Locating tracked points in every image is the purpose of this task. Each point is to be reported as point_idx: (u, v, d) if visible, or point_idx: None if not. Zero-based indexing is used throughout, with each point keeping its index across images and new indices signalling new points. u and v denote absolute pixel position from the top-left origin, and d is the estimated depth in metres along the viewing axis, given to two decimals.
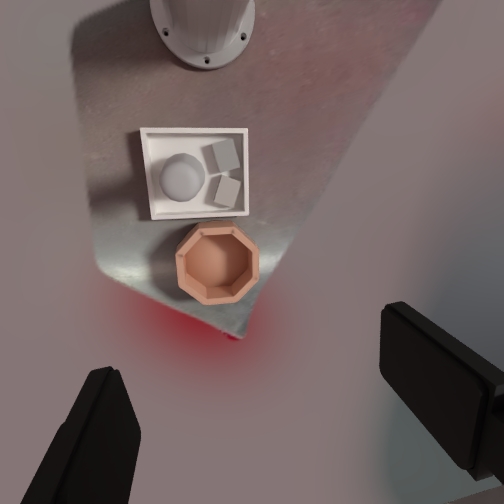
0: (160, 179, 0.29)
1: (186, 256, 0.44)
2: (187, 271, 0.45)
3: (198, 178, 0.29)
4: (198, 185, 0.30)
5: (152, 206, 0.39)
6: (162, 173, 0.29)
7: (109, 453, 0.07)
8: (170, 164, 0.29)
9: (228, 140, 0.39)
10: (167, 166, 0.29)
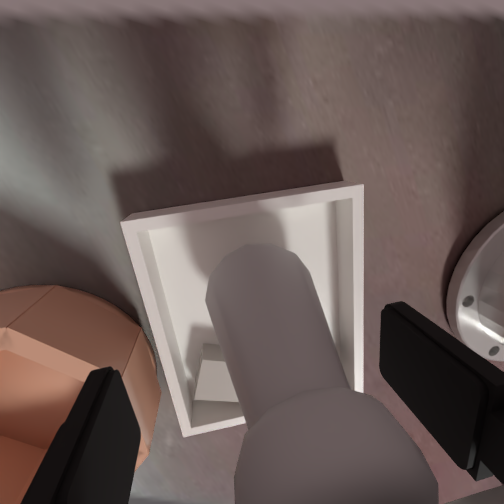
0: (361, 459, 0.05)
1: None
2: None
3: None
4: None
5: (162, 222, 0.13)
6: (397, 470, 0.05)
7: (109, 453, 0.07)
8: (433, 485, 0.06)
9: None
10: (426, 477, 0.05)
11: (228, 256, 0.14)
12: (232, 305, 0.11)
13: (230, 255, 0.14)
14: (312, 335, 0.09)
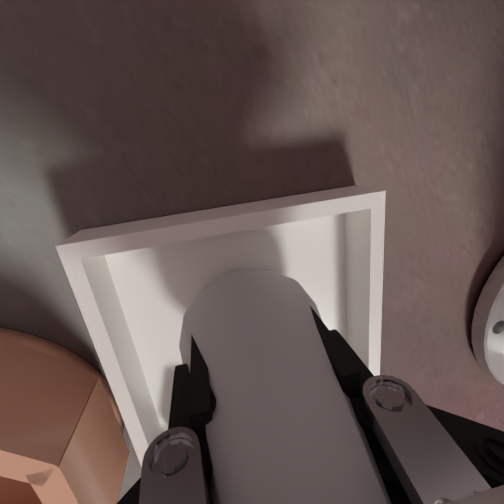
0: None
1: None
2: None
3: None
4: None
5: (117, 245, 0.10)
6: None
7: None
8: None
9: None
10: None
11: (209, 288, 0.10)
12: (211, 370, 0.08)
13: (211, 287, 0.10)
14: (338, 443, 0.06)
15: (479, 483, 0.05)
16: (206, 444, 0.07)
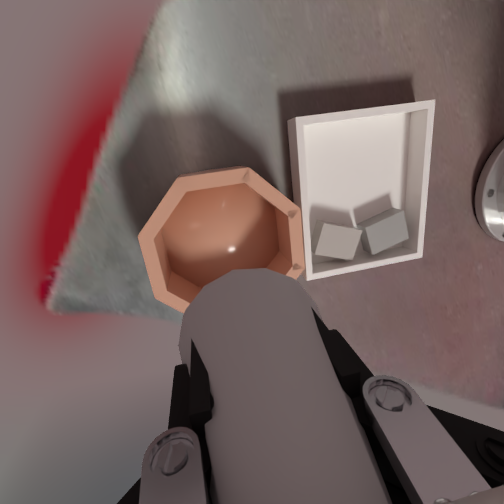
0: None
1: None
2: None
3: None
4: None
5: (318, 119, 0.22)
6: None
7: None
8: None
9: (406, 233, 0.27)
10: None
11: (208, 288, 0.10)
12: (211, 370, 0.08)
13: (211, 286, 0.10)
14: (339, 444, 0.06)
15: (479, 483, 0.05)
16: (206, 444, 0.07)
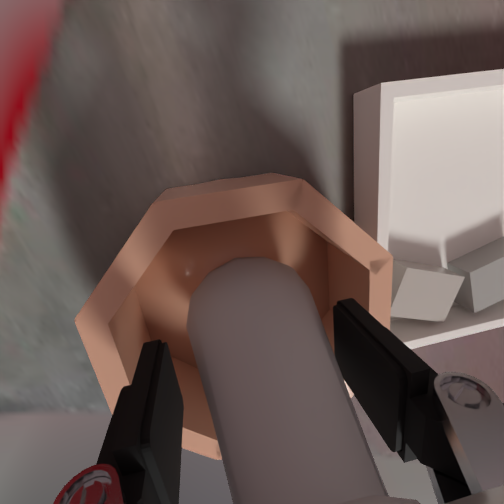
0: None
1: None
2: None
3: None
4: None
5: (421, 87, 0.12)
6: None
7: (167, 411, 0.08)
8: None
9: None
10: None
11: (212, 273, 0.12)
12: (216, 340, 0.09)
13: (215, 272, 0.12)
14: (321, 389, 0.07)
15: None
16: (133, 482, 0.06)
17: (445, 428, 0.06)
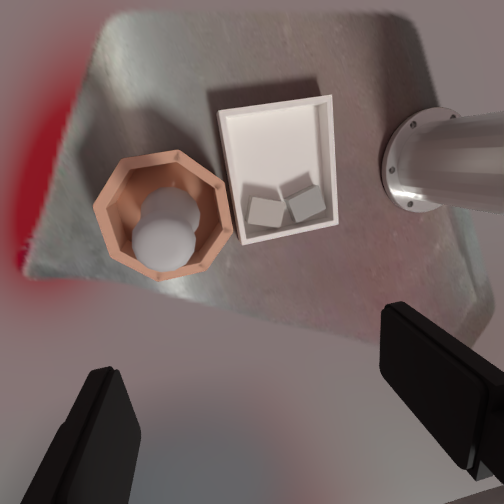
0: (161, 215, 0.19)
1: (164, 166, 0.29)
2: (139, 169, 0.29)
3: (176, 268, 0.20)
4: (165, 270, 0.20)
5: (237, 111, 0.28)
6: (171, 218, 0.19)
7: (109, 453, 0.07)
8: (187, 227, 0.19)
9: (323, 204, 0.33)
10: (183, 224, 0.19)
11: (150, 193, 0.27)
12: (146, 208, 0.25)
13: (151, 192, 0.27)
14: (172, 209, 0.23)
15: None
16: None
17: None
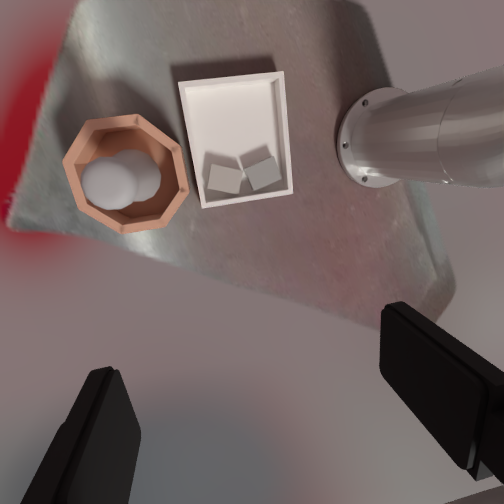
0: (105, 159, 0.22)
1: (131, 132, 0.33)
2: (108, 134, 0.32)
3: (119, 207, 0.23)
4: (110, 208, 0.23)
5: (195, 83, 0.31)
6: (113, 161, 0.22)
7: (109, 453, 0.07)
8: (128, 171, 0.23)
9: (279, 174, 0.36)
10: (124, 167, 0.22)
11: (115, 154, 0.31)
12: None
13: (116, 153, 0.31)
14: (125, 162, 0.26)
15: None
16: None
17: None
